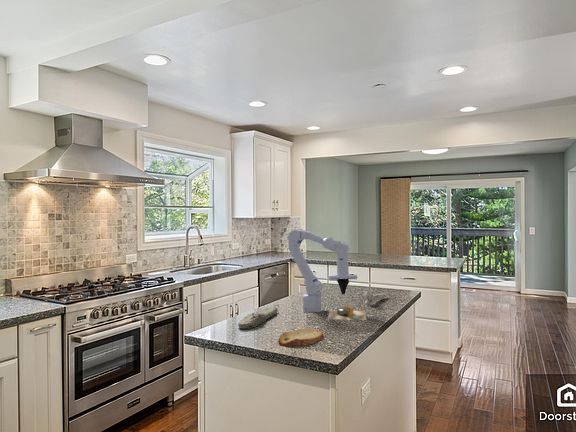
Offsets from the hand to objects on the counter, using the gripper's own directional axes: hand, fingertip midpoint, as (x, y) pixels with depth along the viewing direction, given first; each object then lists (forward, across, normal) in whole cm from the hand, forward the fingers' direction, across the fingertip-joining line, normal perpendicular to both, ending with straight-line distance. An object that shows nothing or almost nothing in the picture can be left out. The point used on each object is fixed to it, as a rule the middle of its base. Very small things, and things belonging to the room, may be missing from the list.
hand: (343, 294), depth 196 cm
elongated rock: (+10, +43, +3) cm, 44 cm away
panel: (+10, 0, +6) cm, 12 cm away
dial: (+9, +1, +8) cm, 11 cm away
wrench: (+10, -25, -20) cm, 34 cm away
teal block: (+9, -1, +15) cm, 17 cm away
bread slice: (+10, +29, +36) cm, 47 cm away
